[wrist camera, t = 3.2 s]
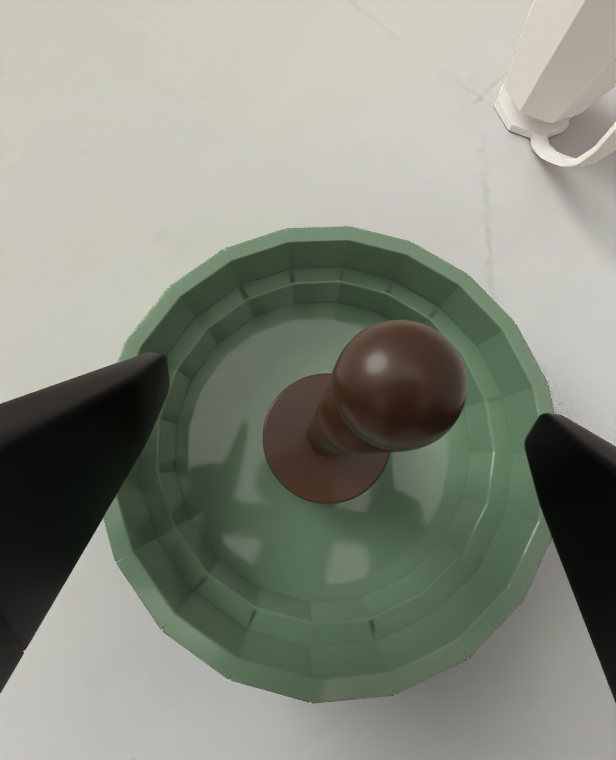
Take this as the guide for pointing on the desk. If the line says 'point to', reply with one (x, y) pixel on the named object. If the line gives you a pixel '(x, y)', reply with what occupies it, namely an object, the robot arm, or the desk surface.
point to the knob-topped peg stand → (364, 411)
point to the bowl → (315, 520)
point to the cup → (561, 74)
